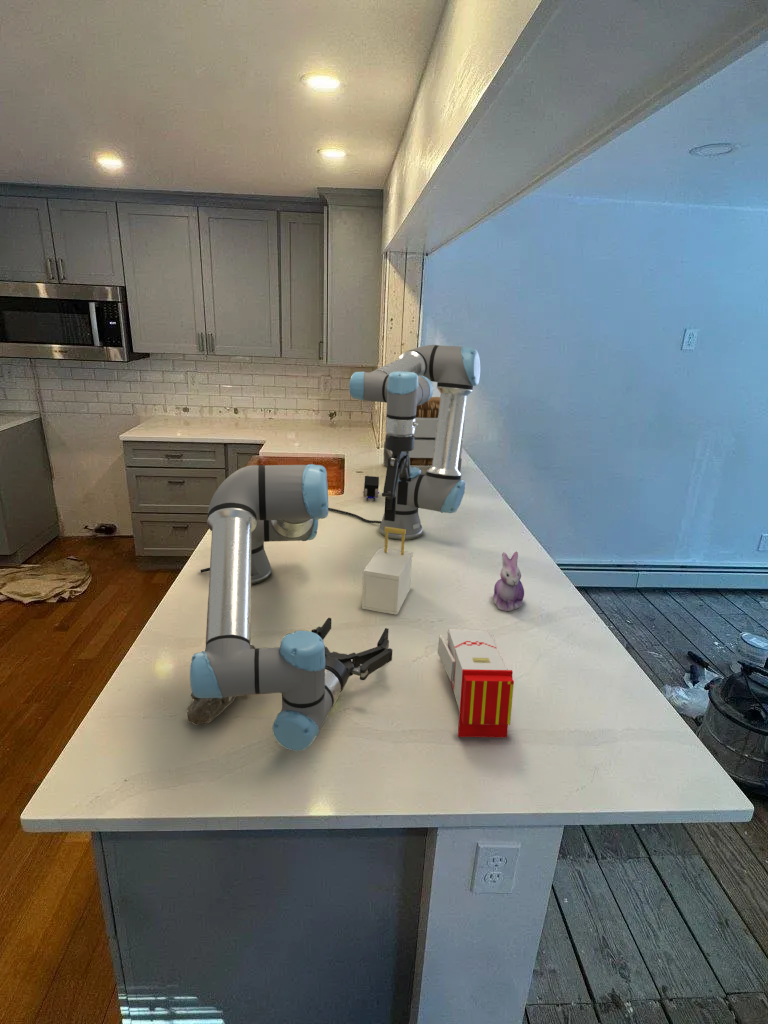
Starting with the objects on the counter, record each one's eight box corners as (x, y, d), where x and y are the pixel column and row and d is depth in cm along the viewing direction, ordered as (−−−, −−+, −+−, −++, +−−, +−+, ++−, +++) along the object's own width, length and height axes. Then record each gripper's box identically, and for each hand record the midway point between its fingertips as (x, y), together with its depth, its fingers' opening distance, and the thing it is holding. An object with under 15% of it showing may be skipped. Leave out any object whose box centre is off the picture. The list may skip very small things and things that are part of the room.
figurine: (506, 615, 149) (513, 563, 144) (482, 598, 157) (488, 548, 152) (534, 608, 153) (541, 558, 148) (509, 592, 161) (516, 543, 156)
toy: (488, 613, 130) (523, 677, 101) (484, 667, 133) (517, 744, 104) (435, 612, 130) (455, 676, 101) (432, 666, 133) (451, 743, 103)
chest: (377, 584, 163) (378, 553, 159) (409, 589, 161) (411, 558, 157) (361, 608, 149) (363, 575, 146) (396, 615, 147) (398, 580, 144)
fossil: (208, 642, 124) (257, 611, 119) (238, 671, 127) (287, 641, 122) (164, 718, 104) (221, 685, 99) (200, 750, 107) (257, 719, 102)
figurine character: (379, 506, 231) (378, 490, 244) (379, 489, 227) (379, 474, 241) (362, 505, 230) (363, 490, 244) (363, 488, 227) (363, 474, 240)
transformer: (382, 463, 289) (386, 382, 275) (445, 464, 293) (451, 384, 279) (390, 482, 257) (394, 392, 243) (460, 483, 261) (468, 394, 247)
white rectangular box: (379, 551, 160) (381, 522, 157) (412, 556, 158) (414, 527, 155) (363, 574, 146) (364, 543, 143) (398, 580, 144) (400, 548, 141)
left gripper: (265, 686, 114) (307, 632, 133) (384, 713, 108) (410, 652, 127) (264, 654, 111) (306, 604, 131) (386, 680, 105) (412, 623, 125)
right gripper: (402, 445, 133) (398, 529, 140) (424, 426, 155) (419, 499, 163) (372, 442, 134) (369, 525, 142) (397, 424, 157) (394, 496, 164)
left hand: (358, 628), depth 129 cm, fingers open, 13 cm apart
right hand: (396, 512), depth 152 cm, fingers open, 13 cm apart
